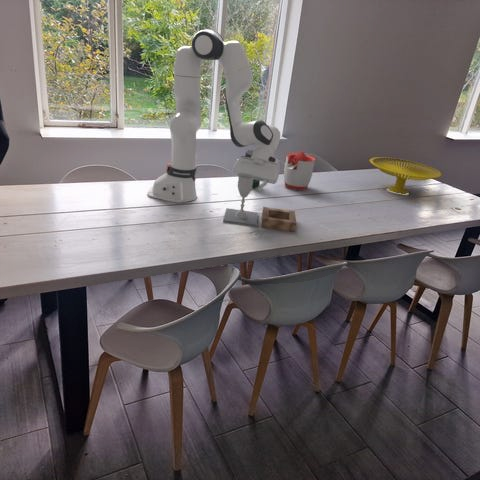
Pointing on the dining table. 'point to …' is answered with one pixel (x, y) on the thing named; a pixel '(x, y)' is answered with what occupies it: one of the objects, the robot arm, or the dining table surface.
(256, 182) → the coffee jar
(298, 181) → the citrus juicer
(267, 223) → the walnut holder
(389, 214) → the dining table surface
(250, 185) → the chalice
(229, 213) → the grey mat
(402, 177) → the cake stand
